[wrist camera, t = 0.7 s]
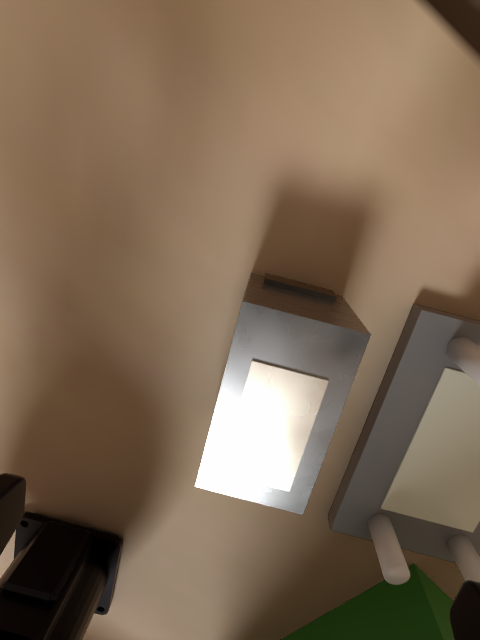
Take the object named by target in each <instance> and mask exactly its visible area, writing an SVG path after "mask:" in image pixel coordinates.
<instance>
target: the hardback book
mask: <svg viewBox="0 0 480 640" xmlns="http://www.w3.org/2000/svg"><path fill="white" fill-rule="evenodd" d="M408 569H409V571H410V578H409V580H408V581H407V582H405V583H403V584H400V585H393V584H390V583H388V582H387V581H386V580H384V581H382V582H381V583H379V584H377V585H375V586H374V587H372V588H370V589H368V590H367V591H365V592H363V593H361V594H360V595H358V596H356V597H354V598H353V599H351V600H349V601H347V602H346V603H344V604H342V605H340V606H339V607H337V608H335V609H333V610H332V611H330V612H328V613H326V614H325V615H323V616H321V617H319V618H318V619H316V620H314V621H312V622H311V623H309V624H307V625H305V626H304V627H302V628H300V629H298V630H297V631H295V632H293V633H291V634H290V635H288V636H286V637H284V638H283V639H281V640H454V636H453V632H452V628H451V624H450V608H451V605H452V604H453V601H452V600H451V599H450V598H449V597H448V596H447V595H446V594H445V593H444V592H443V591H442V590H441V589H440V588H439V587H438V586H437V585H436V584H435V583H434V582H433V581H432V580H430V579H429V578H428V577H427V576H426V575H425V574H424V573H423V572H422V571H421V570H420V569H419V568H418V567H417V566H416V565H415V564H412V565H410V566H409V567H408Z"/></svg>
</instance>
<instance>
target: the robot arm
mask: <svg viewBox="0 0 480 640" xmlns="http://www.w3.org/2000/svg"><path fill="white" fill-rule="evenodd" d="M25 495H26V480H25V478H23V477H21V476H17V475H13V474H8V473H4V474H1V475H0V555H1V553H2V552H3V550H4V548H5V547H6V545H7V543H8V542H9V540H10V538H11V537H12V535H13V533H14V532H15V530H16V537H15V550H14V560H13V562H12V563H11V564H10V566H9V567H8V569H7V570H6V571H5V573H4V574H3V575H2V577H1V578H0V640H83V637H84V635H85V633H86V630H87V628H88V626H89V623H90V621H91V619H92V617H93V614H94V613H96V614H100V615H105V614H107V613H108V611H109V608H110V606H111V601H112V596H113V591H114V585H115V580H116V575H117V570H118V565H119V560H120V554H121V549H122V544H123V541H122V539H121V538H120V537H119V536H116V535H113V534H109V533H105V532H102V531H98V530H94V529H90V528H86V527H83V526H79V525H75V524H71V523H67V522H63V521H60V520H56V519H52V518H48V517H44V516H41V515H37V514H33V513H29V512H25V513H24V510H25ZM450 624H451V628H452V632H453V636H454V640H480V582H476V581H472V580H467V581H465V582H464V583H463V584H462V586H461V588H460V590H459V592H458V594H457V596H456V598H455V600H454V602H453V604H452V605H451V608H450Z"/></svg>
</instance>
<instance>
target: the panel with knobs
mask: <svg viewBox="0 0 480 640" xmlns="http://www.w3.org/2000/svg"><path fill="white" fill-rule="evenodd" d="M328 519H329V525H330V530H332V531H335V532H339V533H343V534H347V535H351V536H354V537H358V538H362V539H366V540H370V541H373V543H374V546H375V550H376V553H377V556H378V560H379V563H380V566H381V570H382V573H383V577H384V579H385V580H386V581H387V582H388V583H390V584H393V585H400V584H403V583H405V582H407V581H408V580H409V578H410V571H409V569H408V566H407V563H406V561H405V558H404V555H403V553H402V550H401V549H404V550H408V551H412V552H416V553H419V554H423V555H427V556H431V557H435V558H439V559H442V560H446V561H450V562H454V563H456V565H457V566H458V568H459V570H460V572H461V574H462V576H463V578H464V580H465V581H467V580H472V581H476V582H480V321H477V320H473V319H469V318H465V317H461V316H457V315H453V314H450V313H446V312H442V311H438V310H434V309H430V308H426V307H423V306H419V305H415V304H413V307H412V309H411V312H410V314H409V317H408V319H407V322H406V324H405V327H404V329H403V332H402V334H401V337H400V339H399V341H398V344H397V346H396V349H395V351H394V354H393V356H392V359H391V361H390V364H389V366H388V369H387V371H386V374H385V376H384V379H383V381H382V383H381V386H380V388H379V391H378V393H377V396H376V398H375V401H374V403H373V406H372V408H371V411H370V413H369V416H368V418H367V420H366V423H365V425H364V428H363V430H362V433H361V435H360V438H359V440H358V443H357V445H356V448H355V450H354V453H353V455H352V457H351V460H350V462H349V465H348V467H347V470H346V472H345V475H344V477H343V480H342V482H341V485H340V487H339V490H338V492H337V495H336V497H335V499H334V502H333V504H332V507H331V509H330V512H329V514H328Z"/></svg>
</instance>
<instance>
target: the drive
mask: <svg viewBox="0 0 480 640" xmlns="http://www.w3.org/2000/svg"><path fill="white" fill-rule="evenodd" d="M370 336H371V334H370V333H369V331H368V330H367V329H366V327H365V326H364V325H363V323H362V322H361V321H360V319H359V318H358V317H357V315H356V314H355V313H354V311H353V310H352V309H351V307H350V306H349V305H348V303H347V302H346V301H345V299H344V298H343V297H341V296H337V295H335V293H334V292H333V291H332V290H328V289H324V288H320V287H316V286H312V285H309V284H305V283H301V282H297V281H293V280H289V279H286V278H282V277H278V276H274V275H270V274H266V273H265V277H264V276H260V275H257V274H253V273H251V275H250V278H249V281H248V285H247V288H246V292H245V295H244V298H243V302H242V306H241V309H240V313H239V317H238V321H237V325H236V329H235V333H234V337H233V341H232V344H231V348H230V352H229V356H228V360H227V364H226V368H225V372H224V376H223V379H222V383H221V387H220V391H219V395H218V399H217V403H216V407H215V411H214V414H213V418H212V422H211V426H210V430H209V434H208V438H207V442H206V446H205V449H204V453H203V457H202V461H201V465H200V469H199V473H198V477H197V481H196V484H195V487H199V488H202V489H206V490H210V491H214V492H218V493H221V494H225V495H229V496H233V497H237V498H241V499H244V500H248V501H252V502H256V503H260V504H263V505H267V506H271V507H275V508H279V509H283V510H286V511H290V512H294V513H298V514H302V515H303V513H304V510H305V507H306V505H307V502H308V500H309V497H310V494H311V492H312V489H313V486H314V484H315V481H316V478H317V476H318V473H319V470H320V468H321V465H322V463H323V460H324V457H325V455H326V452H327V449H328V447H329V444H330V441H331V439H332V436H333V433H334V431H335V428H336V426H337V423H338V420H339V418H340V415H341V412H342V410H343V407H344V404H345V402H346V399H347V396H348V394H349V391H350V389H351V386H352V383H353V381H354V378H355V375H356V373H357V370H358V367H359V365H360V362H361V359H362V357H363V354H364V352H365V349H366V346H367V344H368V341H369V338H370Z"/></svg>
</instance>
